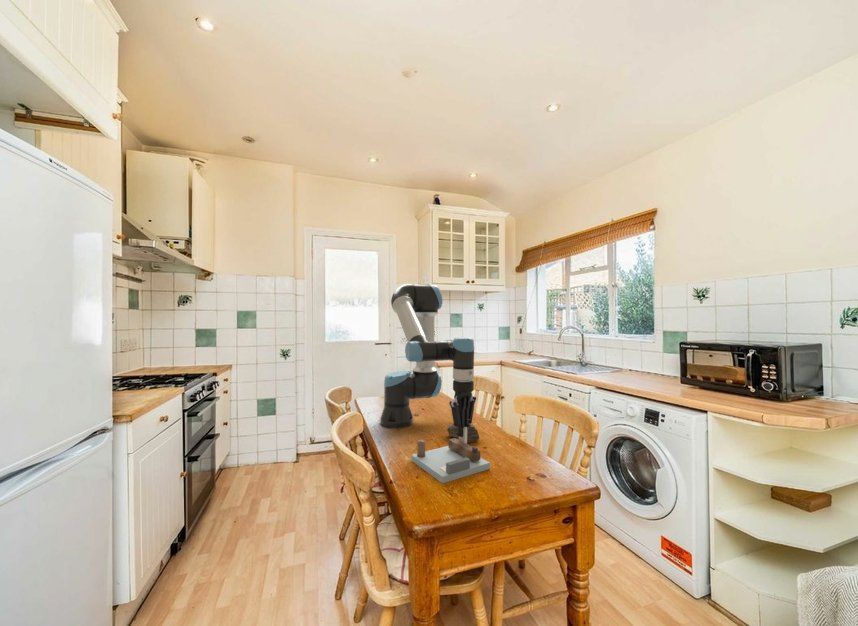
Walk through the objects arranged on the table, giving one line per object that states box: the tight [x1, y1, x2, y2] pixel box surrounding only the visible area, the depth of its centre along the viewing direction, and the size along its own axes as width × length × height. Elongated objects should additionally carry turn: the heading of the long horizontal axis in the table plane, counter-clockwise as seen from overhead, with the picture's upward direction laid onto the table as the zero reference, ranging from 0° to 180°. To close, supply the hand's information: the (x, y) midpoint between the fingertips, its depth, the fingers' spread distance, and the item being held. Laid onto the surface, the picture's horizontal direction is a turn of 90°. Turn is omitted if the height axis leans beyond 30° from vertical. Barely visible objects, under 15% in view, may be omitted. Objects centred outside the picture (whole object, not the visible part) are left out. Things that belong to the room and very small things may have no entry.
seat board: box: [410, 439, 491, 484], centre depth 117 cm, size 19×19×7 cm
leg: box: [447, 437, 481, 462], centre depth 120 cm, size 14×3×4 cm, turn 32°
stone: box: [446, 422, 480, 443], centre depth 143 cm, size 14×10×10 cm
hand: (462, 444), depth 126 cm, fingers closed
